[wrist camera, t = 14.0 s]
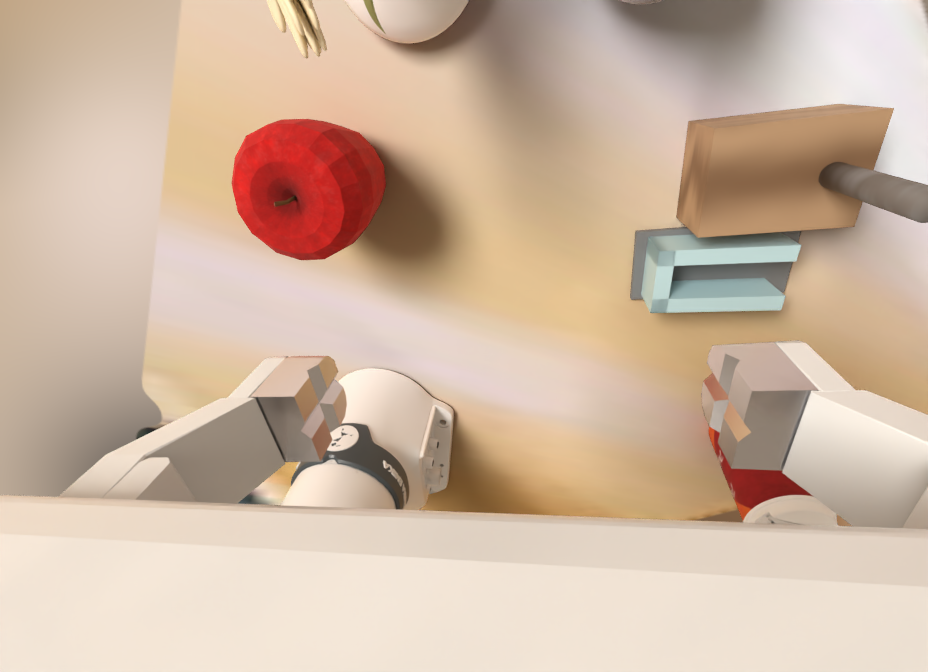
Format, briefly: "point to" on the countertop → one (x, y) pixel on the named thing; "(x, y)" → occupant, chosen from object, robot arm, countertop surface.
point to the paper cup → (771, 495)
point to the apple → (307, 186)
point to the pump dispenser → (641, 1)
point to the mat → (768, 270)
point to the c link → (718, 292)
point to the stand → (790, 172)
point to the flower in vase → (370, 19)
